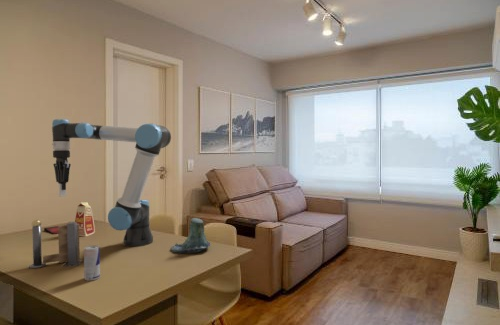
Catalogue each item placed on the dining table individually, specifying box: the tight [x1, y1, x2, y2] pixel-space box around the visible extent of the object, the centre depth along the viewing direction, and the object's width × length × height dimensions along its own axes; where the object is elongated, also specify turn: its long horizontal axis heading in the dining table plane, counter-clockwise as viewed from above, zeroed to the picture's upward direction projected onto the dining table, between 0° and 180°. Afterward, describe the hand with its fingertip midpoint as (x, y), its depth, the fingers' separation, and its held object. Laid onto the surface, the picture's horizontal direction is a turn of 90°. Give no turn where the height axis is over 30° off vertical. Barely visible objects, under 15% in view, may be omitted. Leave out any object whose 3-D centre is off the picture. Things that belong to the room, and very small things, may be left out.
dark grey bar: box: [62, 221, 84, 268], centre depth 144 cm, size 6×6×18 cm
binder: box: [43, 225, 59, 235], centre depth 211 cm, size 16×2×21 cm
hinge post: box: [28, 219, 47, 269], centre depth 141 cm, size 6×6×20 cm
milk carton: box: [74, 201, 96, 237], centre depth 198 cm, size 9×9×20 cm
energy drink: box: [83, 245, 101, 282], centre depth 127 cm, size 5×5×12 cm
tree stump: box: [170, 217, 211, 254], centre depth 165 cm, size 18×20×18 cm
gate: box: [42, 224, 81, 264], centre depth 146 cm, size 14×2×16 cm, turn 120°
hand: (62, 196), depth 169 cm, fingers closed
